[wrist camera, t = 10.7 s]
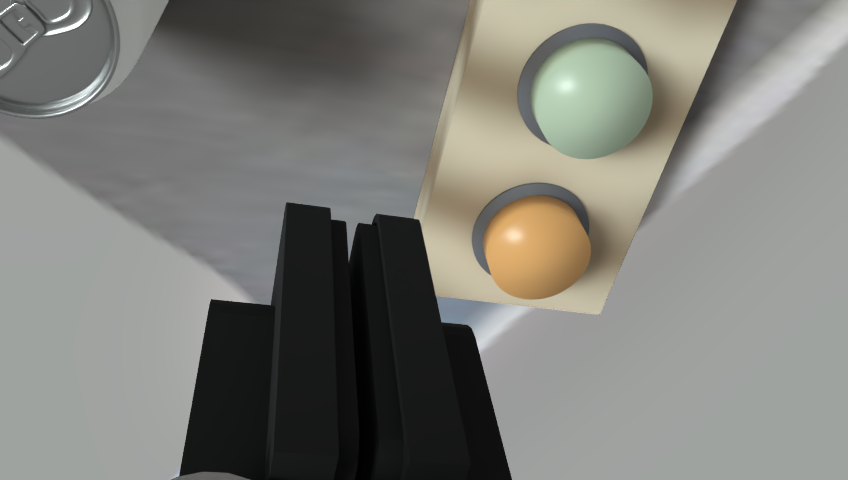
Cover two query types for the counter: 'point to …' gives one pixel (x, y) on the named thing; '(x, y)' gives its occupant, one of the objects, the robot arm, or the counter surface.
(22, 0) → the can
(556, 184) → the button panel
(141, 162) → the counter surface
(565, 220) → the orange button
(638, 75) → the sage button
